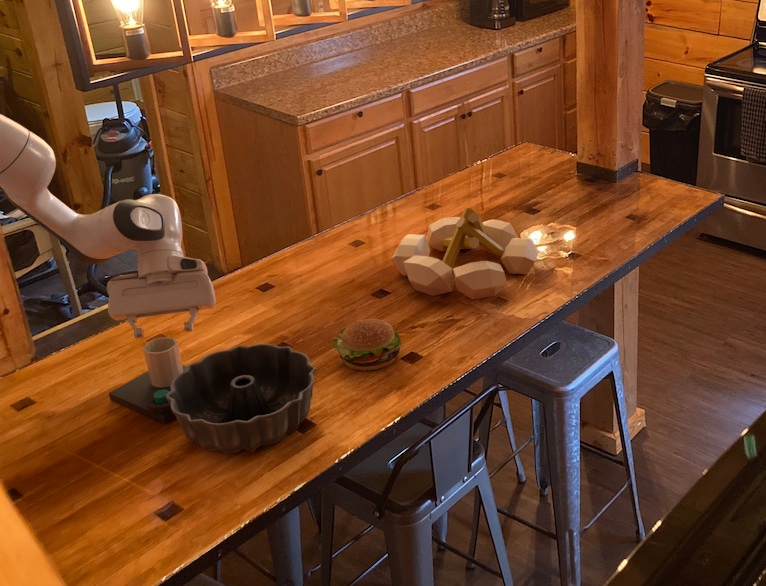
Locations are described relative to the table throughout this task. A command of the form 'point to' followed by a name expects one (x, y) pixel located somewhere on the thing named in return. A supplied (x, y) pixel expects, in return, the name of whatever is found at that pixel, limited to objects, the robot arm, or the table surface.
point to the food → (368, 344)
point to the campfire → (451, 238)
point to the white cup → (162, 361)
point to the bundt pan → (243, 397)
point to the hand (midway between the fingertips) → (164, 334)
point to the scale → (143, 398)
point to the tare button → (160, 396)
